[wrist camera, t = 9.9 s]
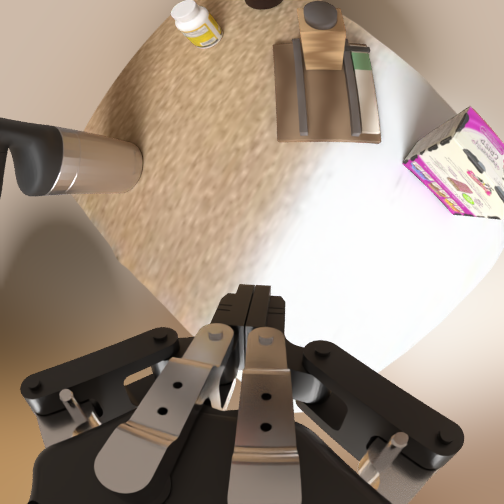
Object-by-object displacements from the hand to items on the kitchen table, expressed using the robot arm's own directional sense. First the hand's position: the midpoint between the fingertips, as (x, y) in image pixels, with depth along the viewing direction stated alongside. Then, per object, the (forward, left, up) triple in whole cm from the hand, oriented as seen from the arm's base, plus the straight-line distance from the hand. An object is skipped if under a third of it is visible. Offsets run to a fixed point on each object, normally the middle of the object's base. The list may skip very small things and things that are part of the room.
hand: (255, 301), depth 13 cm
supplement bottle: (-13, +34, -25) cm, 45 cm away
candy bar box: (+21, +9, -25) cm, 34 cm away
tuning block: (+7, +26, -23) cm, 36 cm away
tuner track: (+5, +21, -25) cm, 33 cm away
